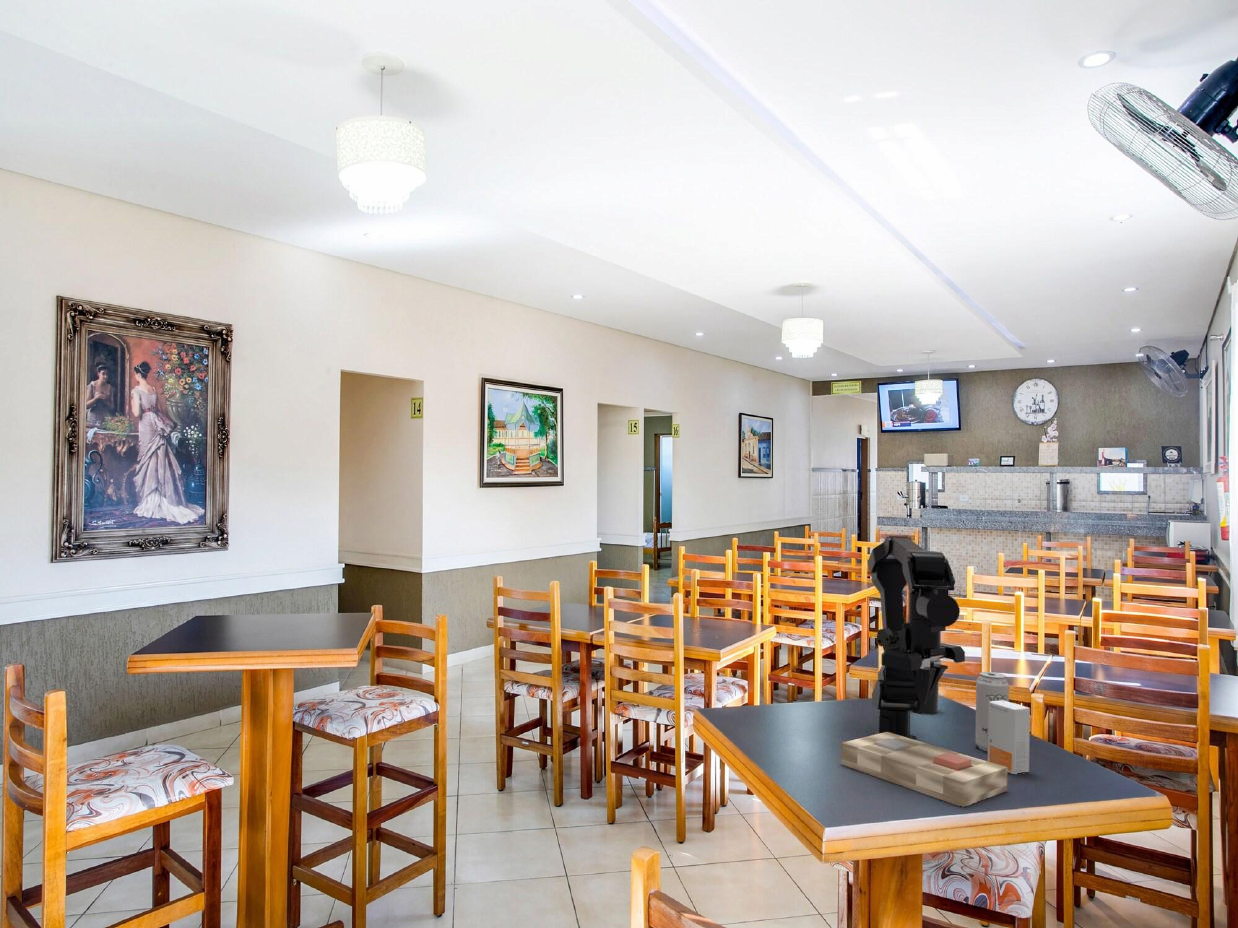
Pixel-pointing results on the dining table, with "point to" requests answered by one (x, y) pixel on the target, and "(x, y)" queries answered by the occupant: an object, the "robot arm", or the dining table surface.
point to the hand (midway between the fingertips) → (923, 702)
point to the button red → (952, 761)
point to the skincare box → (1009, 735)
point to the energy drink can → (986, 691)
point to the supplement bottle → (930, 703)
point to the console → (925, 769)
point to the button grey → (892, 744)
